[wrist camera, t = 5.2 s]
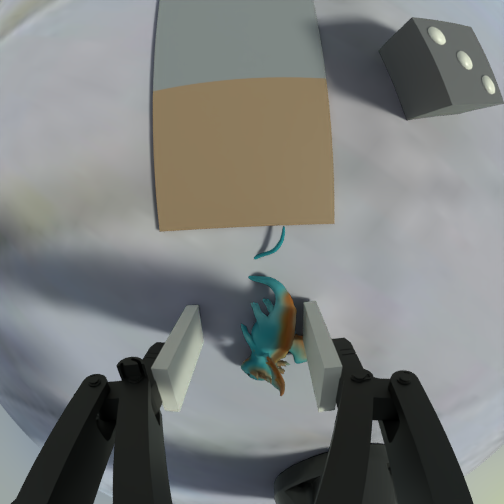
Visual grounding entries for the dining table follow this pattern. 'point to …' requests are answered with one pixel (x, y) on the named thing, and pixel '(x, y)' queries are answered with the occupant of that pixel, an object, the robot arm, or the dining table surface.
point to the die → (439, 69)
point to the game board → (240, 115)
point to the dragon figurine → (273, 333)
